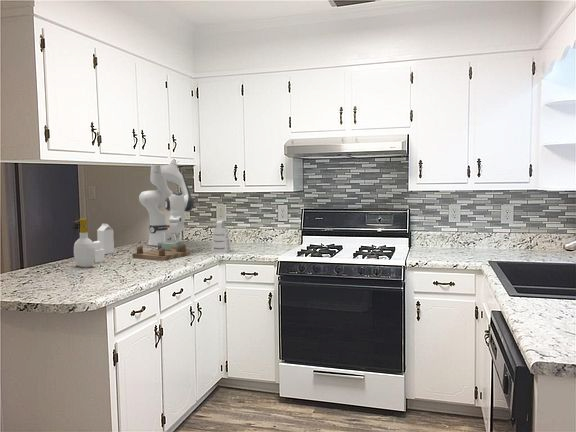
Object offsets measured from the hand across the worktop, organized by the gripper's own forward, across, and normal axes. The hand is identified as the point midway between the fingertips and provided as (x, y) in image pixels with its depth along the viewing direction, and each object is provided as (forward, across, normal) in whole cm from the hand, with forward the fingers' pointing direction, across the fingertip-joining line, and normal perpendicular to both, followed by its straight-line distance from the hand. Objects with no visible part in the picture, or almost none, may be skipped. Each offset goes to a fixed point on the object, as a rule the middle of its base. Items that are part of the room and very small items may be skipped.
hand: (177, 239), depth 306 cm
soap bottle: (+8, +47, -39) cm, 62 cm away
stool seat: (+8, +13, -6) cm, 17 cm away
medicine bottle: (+9, +32, -39) cm, 51 cm away
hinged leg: (+6, +4, -5) cm, 9 cm away
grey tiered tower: (+9, -6, +27) cm, 29 cm away
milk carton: (+10, +2, -46) cm, 47 cm away
